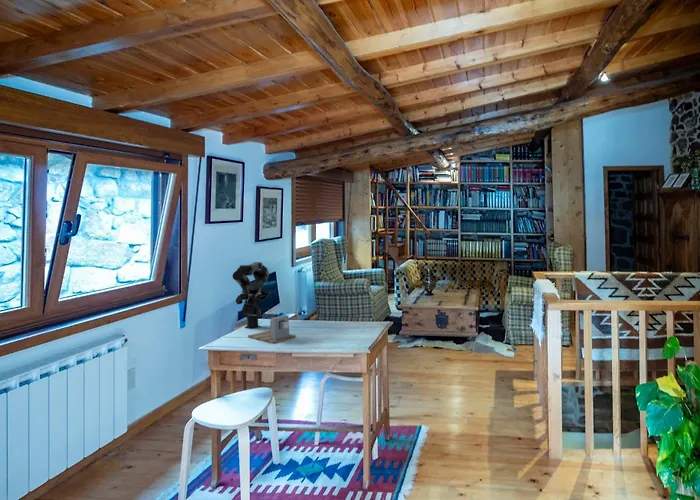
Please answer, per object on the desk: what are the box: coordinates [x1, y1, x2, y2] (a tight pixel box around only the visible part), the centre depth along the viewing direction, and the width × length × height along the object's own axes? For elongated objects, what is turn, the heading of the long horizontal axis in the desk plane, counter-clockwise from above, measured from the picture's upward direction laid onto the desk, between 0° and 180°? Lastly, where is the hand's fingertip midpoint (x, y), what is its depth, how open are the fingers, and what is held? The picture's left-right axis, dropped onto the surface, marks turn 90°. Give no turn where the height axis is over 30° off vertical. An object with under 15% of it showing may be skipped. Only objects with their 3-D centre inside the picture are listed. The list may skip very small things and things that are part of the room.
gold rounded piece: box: [279, 320, 290, 329], centre depth 248 cm, size 8×5×5 cm, turn 48°
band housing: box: [269, 314, 290, 340], centre depth 249 cm, size 3×9×10 cm, turn 138°
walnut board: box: [247, 329, 297, 345], centre depth 254 cm, size 20×15×1 cm
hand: (260, 309), depth 259 cm, fingers closed
